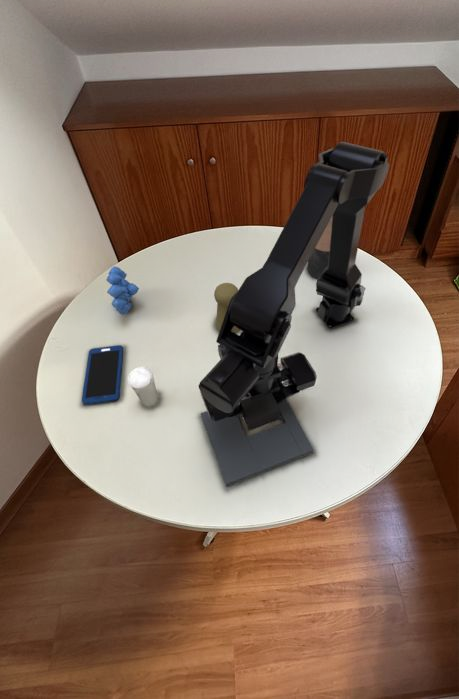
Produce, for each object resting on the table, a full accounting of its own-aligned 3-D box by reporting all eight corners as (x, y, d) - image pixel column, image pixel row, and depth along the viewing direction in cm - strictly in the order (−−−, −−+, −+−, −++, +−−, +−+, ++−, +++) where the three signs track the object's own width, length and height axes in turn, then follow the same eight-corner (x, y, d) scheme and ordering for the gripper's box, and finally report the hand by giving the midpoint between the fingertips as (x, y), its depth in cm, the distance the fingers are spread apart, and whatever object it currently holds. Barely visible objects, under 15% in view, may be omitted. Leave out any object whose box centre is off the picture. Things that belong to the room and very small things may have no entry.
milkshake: (155, 416, 70) (142, 388, 62) (134, 403, 72) (119, 375, 64) (169, 398, 73) (159, 369, 65) (149, 386, 75) (136, 357, 67)
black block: (265, 393, 70) (266, 382, 67) (279, 419, 67) (280, 409, 64) (236, 403, 69) (235, 392, 66) (248, 431, 66) (248, 420, 63)
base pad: (278, 389, 72) (278, 385, 71) (312, 453, 64) (313, 449, 63) (201, 416, 70) (200, 413, 68) (226, 487, 61) (226, 484, 60)
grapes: (145, 324, 85) (131, 285, 76) (115, 328, 85) (98, 290, 75) (145, 290, 92) (132, 251, 83) (118, 294, 92) (102, 254, 83)
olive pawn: (239, 335, 81) (237, 300, 73) (213, 332, 82) (208, 297, 74) (244, 316, 85) (243, 279, 76) (219, 313, 86) (215, 277, 77)
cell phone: (123, 346, 81) (122, 344, 81) (119, 400, 73) (118, 398, 72) (90, 350, 81) (89, 348, 80) (82, 405, 72) (80, 403, 72)
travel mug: (339, 279, 91) (357, 205, 75) (307, 280, 91) (319, 206, 75) (334, 260, 95) (349, 185, 80) (304, 261, 96) (314, 187, 80)
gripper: (291, 305, 61) (285, 360, 74) (184, 339, 58) (196, 391, 70) (324, 355, 55) (311, 406, 67) (206, 396, 52) (215, 442, 64)
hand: (258, 409), depth 67 cm, fingers closed on black block, 6 cm apart
